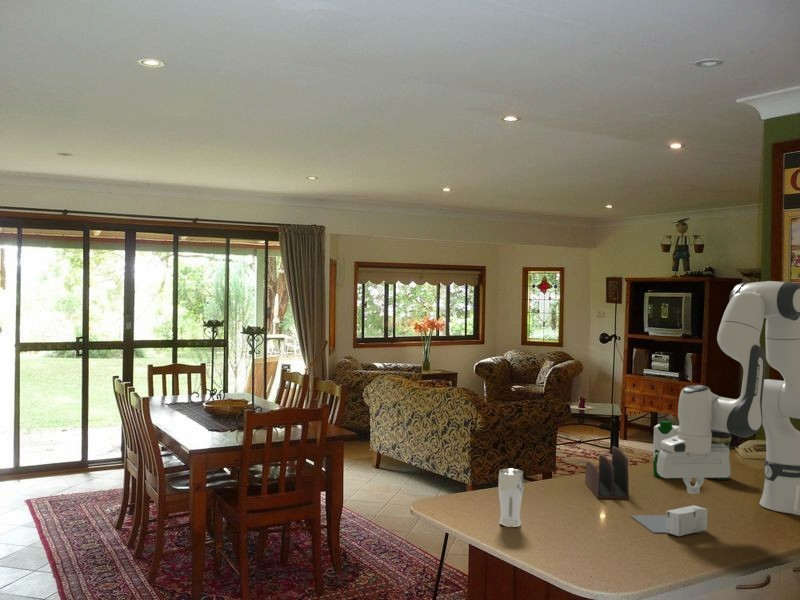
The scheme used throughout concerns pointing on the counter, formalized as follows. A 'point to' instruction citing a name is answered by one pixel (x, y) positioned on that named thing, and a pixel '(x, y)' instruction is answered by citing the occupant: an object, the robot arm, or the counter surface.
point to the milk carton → (661, 433)
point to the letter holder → (609, 476)
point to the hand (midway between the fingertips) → (693, 493)
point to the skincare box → (686, 520)
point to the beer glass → (510, 496)
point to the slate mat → (654, 522)
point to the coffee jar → (720, 438)
